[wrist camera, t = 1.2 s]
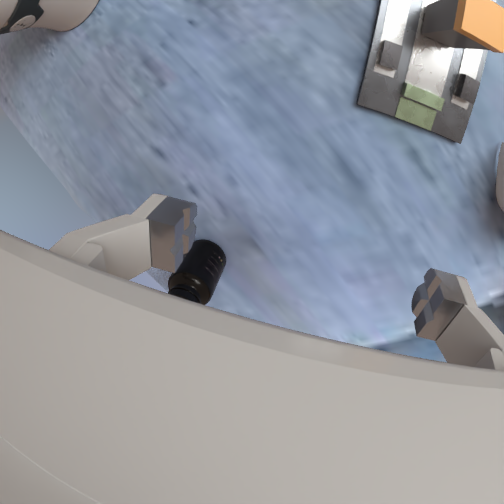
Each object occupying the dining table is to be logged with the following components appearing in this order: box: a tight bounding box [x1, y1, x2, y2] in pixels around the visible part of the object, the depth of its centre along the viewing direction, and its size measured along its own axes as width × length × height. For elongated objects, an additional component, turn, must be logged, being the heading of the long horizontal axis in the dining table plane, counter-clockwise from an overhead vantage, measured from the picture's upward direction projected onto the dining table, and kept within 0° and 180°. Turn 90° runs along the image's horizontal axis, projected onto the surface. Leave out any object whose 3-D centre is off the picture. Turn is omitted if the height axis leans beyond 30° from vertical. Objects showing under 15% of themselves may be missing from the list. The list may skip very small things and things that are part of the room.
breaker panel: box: [357, 0, 496, 144], centre depth 22 cm, size 26×14×3 cm, turn 171°
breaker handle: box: [421, 0, 504, 53], centre depth 17 cm, size 4×4×12 cm
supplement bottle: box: [168, 240, 226, 305], centre depth 46 cm, size 7×7×12 cm
